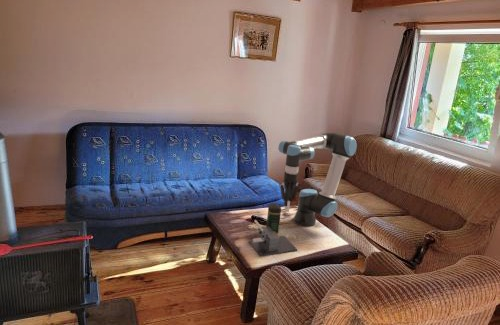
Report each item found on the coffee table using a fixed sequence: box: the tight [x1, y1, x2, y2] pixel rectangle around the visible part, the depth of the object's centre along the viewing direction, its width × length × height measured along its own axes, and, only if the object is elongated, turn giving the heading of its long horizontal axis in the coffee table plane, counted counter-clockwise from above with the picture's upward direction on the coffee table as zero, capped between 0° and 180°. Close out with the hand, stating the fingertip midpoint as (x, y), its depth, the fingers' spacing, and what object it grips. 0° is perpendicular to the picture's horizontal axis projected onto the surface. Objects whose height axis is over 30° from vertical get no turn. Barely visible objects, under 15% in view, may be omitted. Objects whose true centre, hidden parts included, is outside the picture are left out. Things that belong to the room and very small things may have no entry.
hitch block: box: [248, 226, 298, 258], centre depth 209 cm, size 24×17×12 cm
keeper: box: [254, 219, 265, 234], centre depth 203 cm, size 10×6×1 cm
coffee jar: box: [265, 202, 282, 235], centre depth 226 cm, size 10×8×19 cm
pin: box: [251, 231, 280, 244], centre depth 207 cm, size 15×6×6 cm, turn 113°
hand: (286, 210), depth 207 cm, fingers closed
